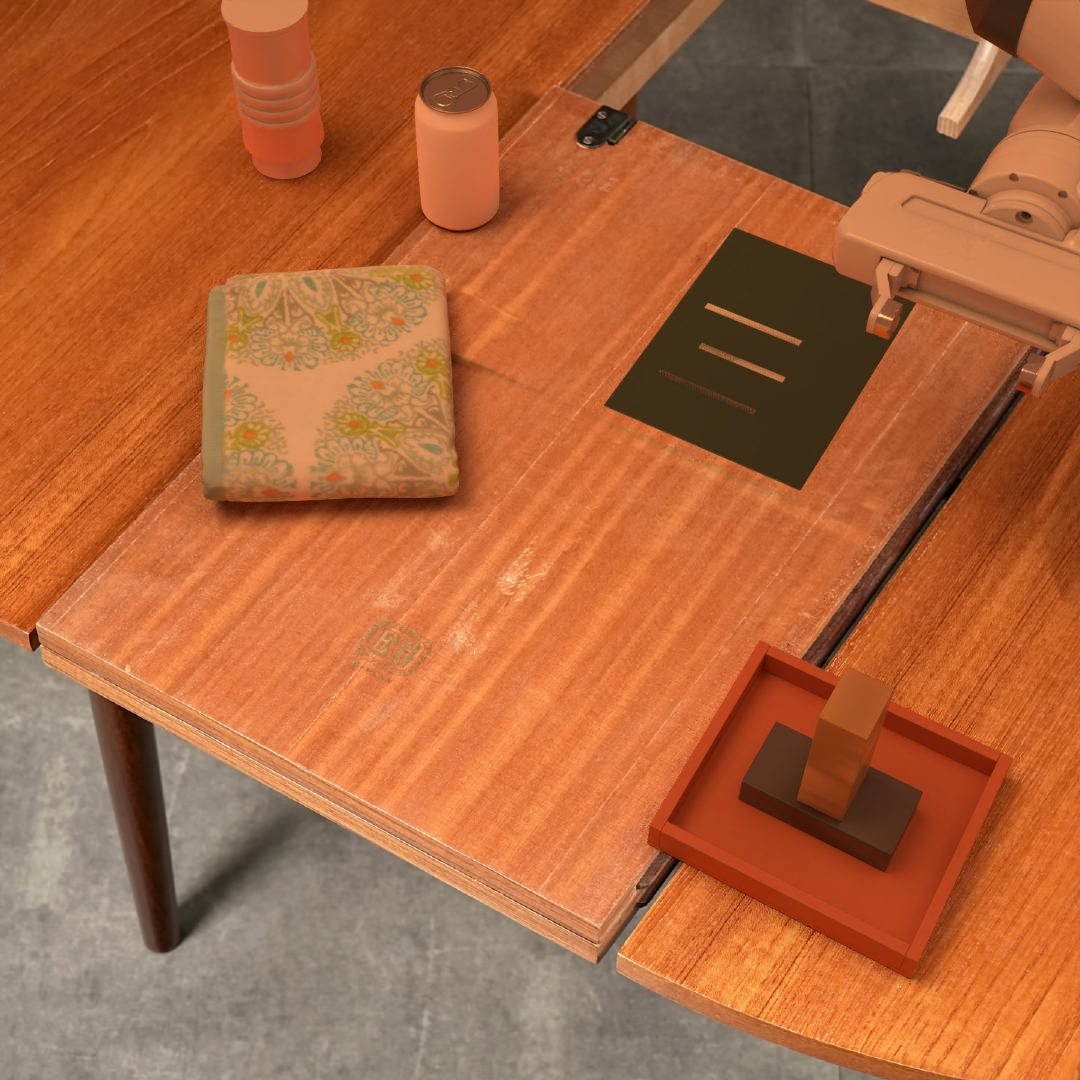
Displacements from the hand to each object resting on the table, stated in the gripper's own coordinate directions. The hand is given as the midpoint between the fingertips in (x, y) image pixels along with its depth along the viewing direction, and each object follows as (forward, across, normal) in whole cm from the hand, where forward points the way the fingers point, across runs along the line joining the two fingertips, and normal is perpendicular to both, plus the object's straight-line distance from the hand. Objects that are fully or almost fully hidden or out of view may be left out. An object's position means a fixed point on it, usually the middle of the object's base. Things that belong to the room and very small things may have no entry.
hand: (952, 357), depth 100 cm
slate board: (-14, -16, +22) cm, 31 cm away
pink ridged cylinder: (-15, -61, +22) cm, 67 cm away
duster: (+19, +3, +22) cm, 29 cm away
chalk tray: (+19, +4, +22) cm, 29 cm away
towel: (+6, -42, +22) cm, 48 cm away
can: (-17, -45, +22) cm, 53 cm away
